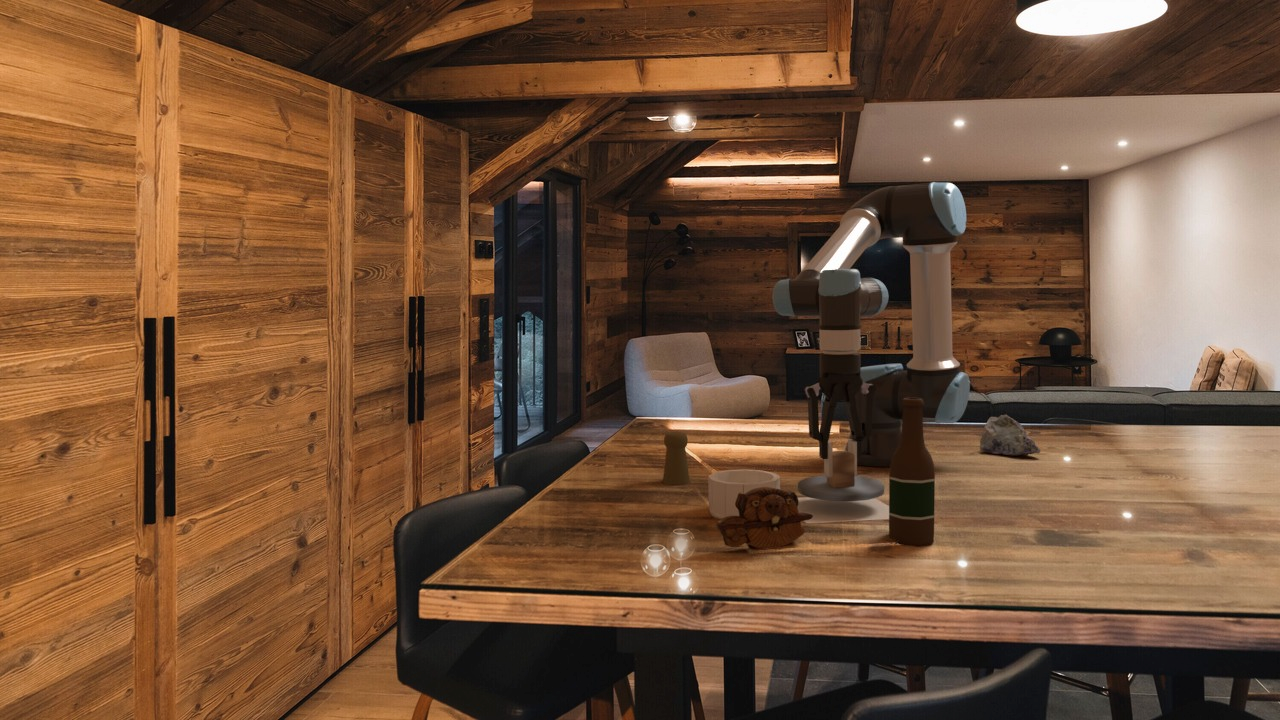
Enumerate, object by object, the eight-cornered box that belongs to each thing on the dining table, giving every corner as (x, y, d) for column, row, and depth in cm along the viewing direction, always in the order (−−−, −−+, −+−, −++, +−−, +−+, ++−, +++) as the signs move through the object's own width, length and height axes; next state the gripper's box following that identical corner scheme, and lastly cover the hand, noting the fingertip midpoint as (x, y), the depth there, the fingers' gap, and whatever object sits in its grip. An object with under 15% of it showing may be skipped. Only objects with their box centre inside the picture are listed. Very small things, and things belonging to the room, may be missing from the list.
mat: (868, 497, 185) (868, 494, 185) (908, 521, 166) (908, 518, 166) (776, 501, 183) (776, 498, 183) (806, 526, 164) (806, 523, 164)
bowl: (768, 503, 182) (768, 468, 181) (787, 520, 169) (787, 482, 168) (703, 506, 180) (703, 471, 179) (717, 523, 167) (717, 485, 166)
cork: (687, 485, 198) (687, 435, 197) (660, 484, 200) (659, 434, 199) (692, 479, 204) (691, 430, 203) (665, 478, 205) (664, 430, 204)
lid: (865, 478, 184) (865, 443, 183) (898, 498, 168) (898, 459, 167) (787, 483, 181) (786, 447, 181) (813, 503, 166) (813, 464, 165)
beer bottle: (880, 534, 158) (881, 396, 156) (924, 533, 159) (926, 394, 157) (897, 547, 150) (898, 402, 148) (943, 545, 151) (945, 400, 149)
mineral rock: (1042, 460, 220) (1043, 418, 219) (999, 461, 219) (1000, 419, 218) (1016, 450, 233) (1017, 410, 232) (975, 451, 232) (975, 412, 231)
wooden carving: (727, 558, 146) (726, 496, 146) (714, 550, 151) (714, 490, 150) (817, 546, 152) (817, 487, 151) (803, 539, 156) (803, 481, 155)
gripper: (875, 348, 177) (876, 468, 179) (789, 351, 175) (790, 473, 177) (891, 351, 169) (891, 476, 172) (801, 355, 167) (802, 481, 170)
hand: (840, 474), depth 174 cm, fingers closed on lid, 4 cm apart
